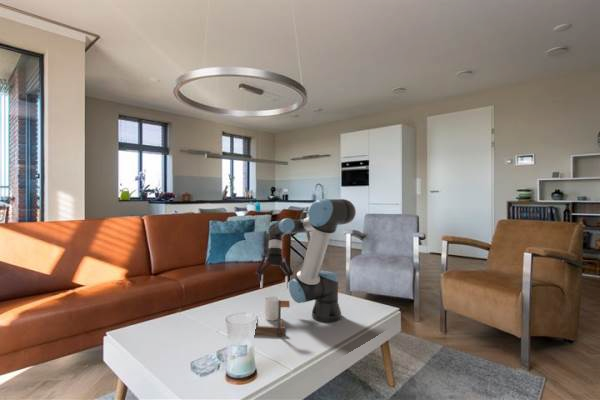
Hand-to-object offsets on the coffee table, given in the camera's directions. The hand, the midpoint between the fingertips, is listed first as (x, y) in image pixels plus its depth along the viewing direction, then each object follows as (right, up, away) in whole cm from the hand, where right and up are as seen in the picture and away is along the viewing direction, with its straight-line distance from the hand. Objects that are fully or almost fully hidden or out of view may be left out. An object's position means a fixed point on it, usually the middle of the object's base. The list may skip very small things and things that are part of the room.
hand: (274, 288), depth 170 cm
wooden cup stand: (-1, -14, -21) cm, 25 cm away
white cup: (-1, -14, -6) cm, 15 cm away
